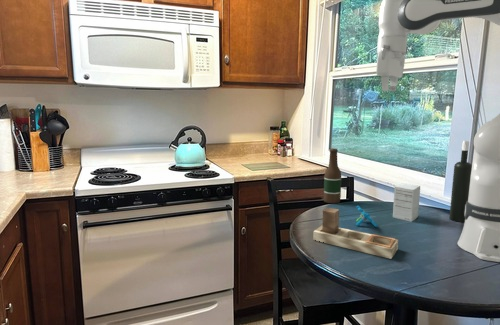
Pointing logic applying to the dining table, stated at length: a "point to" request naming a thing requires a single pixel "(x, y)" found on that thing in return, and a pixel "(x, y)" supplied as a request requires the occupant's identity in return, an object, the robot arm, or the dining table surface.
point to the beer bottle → (332, 180)
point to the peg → (330, 221)
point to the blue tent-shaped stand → (364, 217)
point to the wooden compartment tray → (359, 241)
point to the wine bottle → (460, 186)
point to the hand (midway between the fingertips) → (389, 91)
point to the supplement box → (406, 202)
